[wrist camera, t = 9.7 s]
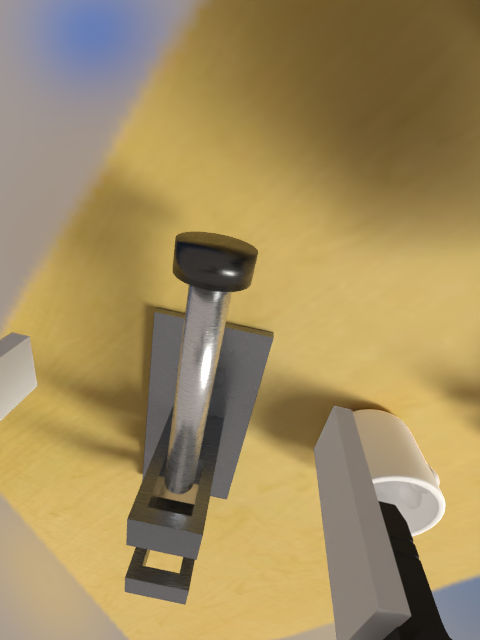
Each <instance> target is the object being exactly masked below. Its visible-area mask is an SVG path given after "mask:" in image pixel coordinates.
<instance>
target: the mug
mask: <svg viewBox="0 0 480 640" xmlns="http://www.w3.org/2000/svg"><path fill="white" fill-rule="evenodd" d="M353 416H354V419H355V422H356V426H357V429H358V433H359V436H360V440H361V443H362V447H363V450H364V454H365V457H366V460H367V464H368V467H369V471H370V474H371V478H372V481H373V485H374V488H375V492H376V495H377V499H378V501H381V502H385V503H390V504H394V505H396V507H397V508H398V510H399V511H400V513H401V514H402V516H403V517H404V519H405V520H406V522H407V524H408V527H409V530H410V533H411V535H412V536H415V535H418V534H421V533H423V532H425V531H427V530H429V529H430V528H432V527H433V526H434V525H436V524H437V523H438V522H439V521H440V519H441V518H442V516H443V514H444V512H445V499H444V497H443V494H442V492H441V490H440V488H439V477H438V475H437V473H436V472H435V471H434V469H432V468H431V466H430V465H429V464H428V463H426V461H425V459H424V457H423V455H422V453H421V451H420V449H419V447H418V445H417V443H416V441H415V439H414V437H413V435H412V433H411V432H410V430H409V428H408V427H407V425H406V424H405V423H404V422H403V421H402V420H401V419H400V418H398V417H397V416H395V415H393V414H391V413H388V412H385V411H381V410H374V409H364V410H357V411H353Z"/></svg>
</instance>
